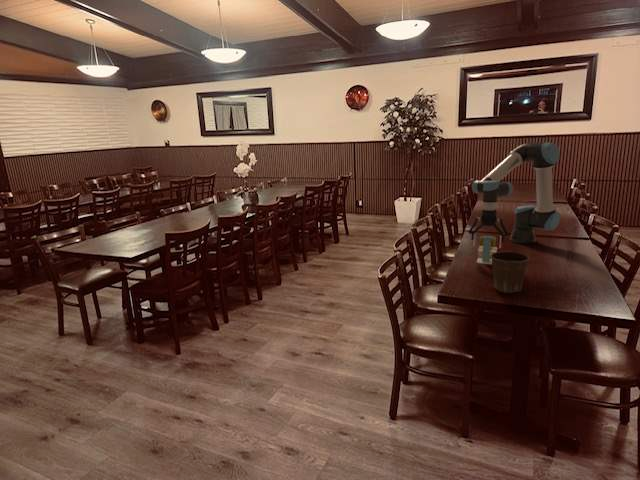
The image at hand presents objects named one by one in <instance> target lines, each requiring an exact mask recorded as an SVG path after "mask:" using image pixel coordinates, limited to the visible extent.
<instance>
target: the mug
mask: <svg viewBox="0 0 640 480" xmlns="http://www.w3.org/2000/svg"><path fill="white" fill-rule="evenodd" d="M483 236H484V235H482V236H479V237H480V238H479V246H483ZM496 242H497V238H496V236H492V240H491V247H496Z"/></svg>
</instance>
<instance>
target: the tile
mask: <svg viewBox="0 0 640 480" xmlns="http://www.w3.org/2000/svg"><path fill="white" fill-rule="evenodd" d="M476 264H479V265H481V264H482V265H491V266H493V265H492V258H490V261H489V262H485V261H482V257H477V260H476Z"/></svg>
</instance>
